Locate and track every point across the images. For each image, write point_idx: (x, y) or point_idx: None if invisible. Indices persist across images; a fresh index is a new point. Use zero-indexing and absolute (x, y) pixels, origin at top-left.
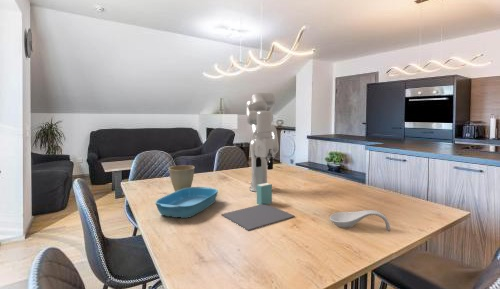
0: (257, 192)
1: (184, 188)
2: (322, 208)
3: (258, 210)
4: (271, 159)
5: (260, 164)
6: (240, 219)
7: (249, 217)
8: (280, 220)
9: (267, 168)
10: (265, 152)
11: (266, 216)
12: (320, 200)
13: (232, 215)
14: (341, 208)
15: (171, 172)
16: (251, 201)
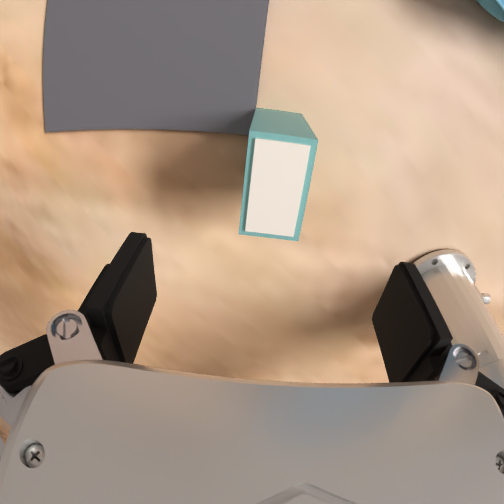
0: (300, 125)
1: None
2: (75, 272)
3: (187, 31)
4: (22, 350)
5: (382, 327)
6: None
7: None
8: (44, 54)
9: (137, 238)
10: (9, 470)
11: (100, 21)
12: (145, 330)
13: None
14: (58, 305)
15: None
16: (351, 120)
